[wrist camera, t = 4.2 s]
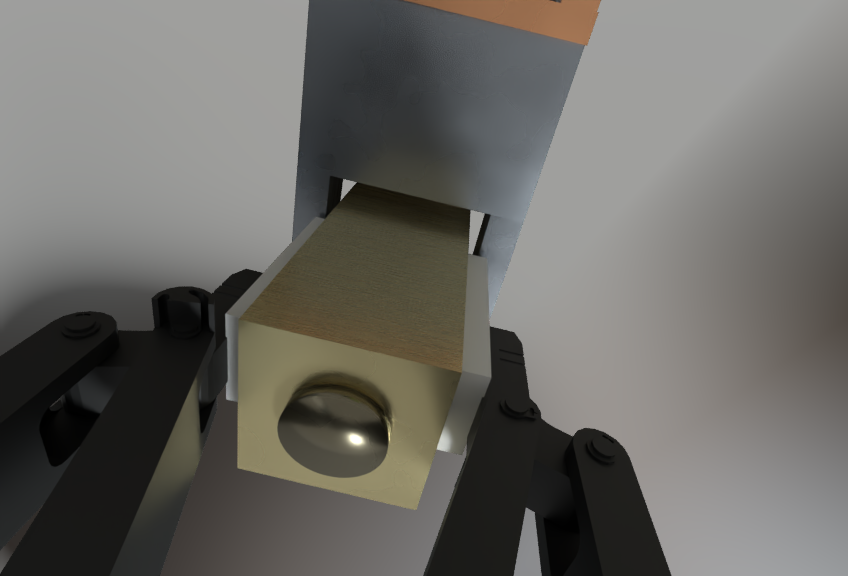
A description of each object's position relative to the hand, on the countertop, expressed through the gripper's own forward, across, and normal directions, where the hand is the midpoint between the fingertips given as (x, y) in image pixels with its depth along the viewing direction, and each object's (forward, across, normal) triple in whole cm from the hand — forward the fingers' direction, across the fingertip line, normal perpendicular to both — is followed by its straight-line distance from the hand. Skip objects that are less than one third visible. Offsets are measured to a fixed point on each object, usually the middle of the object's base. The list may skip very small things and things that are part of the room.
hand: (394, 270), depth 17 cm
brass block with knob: (+2, 0, 0) cm, 2 cm away
